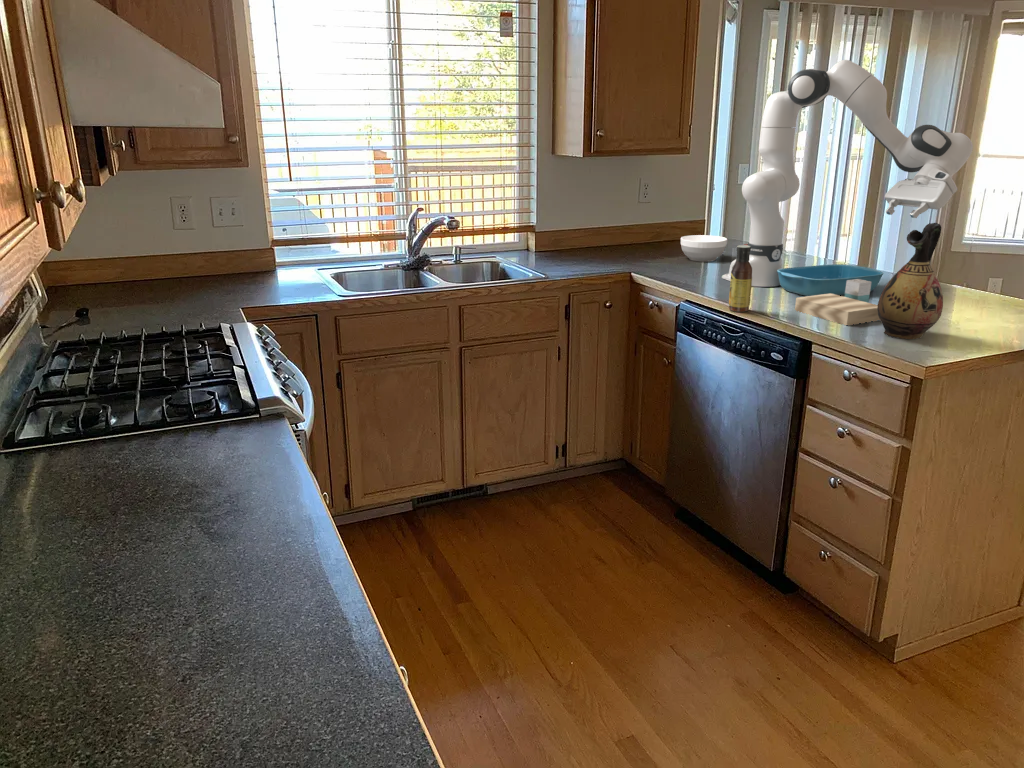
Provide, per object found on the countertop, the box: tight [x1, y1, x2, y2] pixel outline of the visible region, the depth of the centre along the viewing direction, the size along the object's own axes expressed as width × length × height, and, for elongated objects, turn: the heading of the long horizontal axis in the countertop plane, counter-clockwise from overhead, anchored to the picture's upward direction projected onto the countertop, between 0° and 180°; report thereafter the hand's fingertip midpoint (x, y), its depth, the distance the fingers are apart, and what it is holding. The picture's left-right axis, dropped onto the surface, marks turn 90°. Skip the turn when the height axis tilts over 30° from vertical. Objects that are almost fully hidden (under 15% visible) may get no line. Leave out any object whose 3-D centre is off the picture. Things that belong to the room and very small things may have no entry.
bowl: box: [680, 234, 728, 263], centre depth 315 cm, size 19×19×9 cm
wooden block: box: [794, 293, 880, 326], centre depth 225 cm, size 20×14×4 cm
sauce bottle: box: [728, 244, 752, 313], centre depth 229 cm, size 7×6×20 cm
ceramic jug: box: [877, 222, 944, 340], centre depth 200 cm, size 17×15×30 cm
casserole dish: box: [777, 263, 884, 297], centre depth 257 cm, size 37×22×7 cm, turn 112°
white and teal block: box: [843, 279, 871, 303], centre depth 235 cm, size 5×5×8 cm
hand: (900, 214), depth 231 cm, fingers open, 8 cm apart
